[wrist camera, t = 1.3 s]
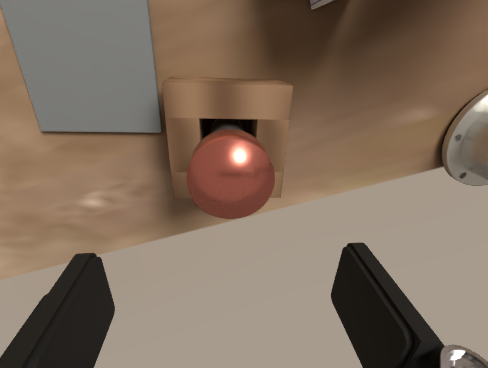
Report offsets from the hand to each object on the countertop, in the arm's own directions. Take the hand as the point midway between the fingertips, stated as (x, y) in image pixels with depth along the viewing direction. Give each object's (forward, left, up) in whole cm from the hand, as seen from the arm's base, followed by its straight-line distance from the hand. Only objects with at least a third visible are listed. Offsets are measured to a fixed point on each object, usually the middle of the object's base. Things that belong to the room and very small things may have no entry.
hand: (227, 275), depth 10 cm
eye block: (0, 0, -21) cm, 21 cm away
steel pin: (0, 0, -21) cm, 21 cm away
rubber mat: (+13, -6, -21) cm, 25 cm away
